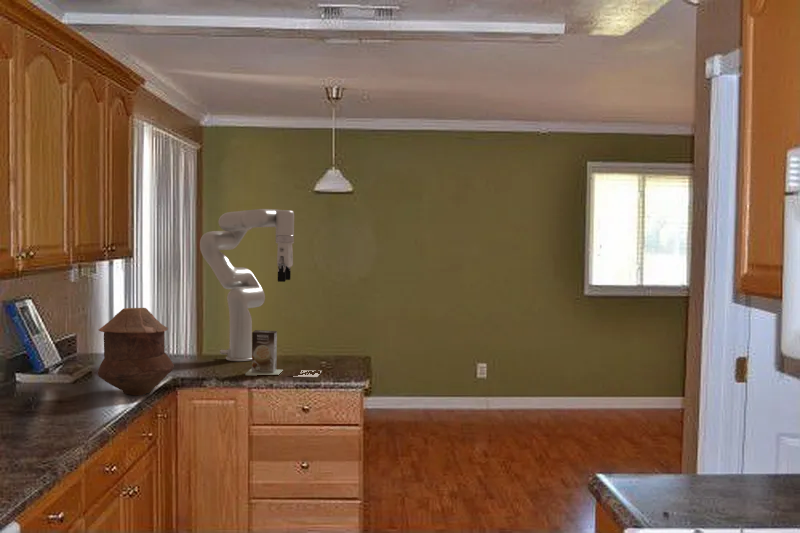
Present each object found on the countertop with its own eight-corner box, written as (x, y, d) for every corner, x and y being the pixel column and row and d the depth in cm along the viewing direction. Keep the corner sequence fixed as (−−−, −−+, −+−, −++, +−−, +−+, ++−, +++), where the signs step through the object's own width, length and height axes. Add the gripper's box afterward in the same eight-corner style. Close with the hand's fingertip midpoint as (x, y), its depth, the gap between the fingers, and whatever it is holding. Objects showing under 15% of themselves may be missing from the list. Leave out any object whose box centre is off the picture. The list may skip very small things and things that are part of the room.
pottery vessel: (134, 403, 290) (133, 313, 288) (80, 395, 302) (80, 308, 301) (188, 390, 312) (188, 306, 311) (136, 383, 325) (136, 302, 323)
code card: (286, 376, 342) (286, 376, 342) (292, 370, 356) (292, 370, 356) (317, 377, 342) (317, 376, 342) (322, 371, 356) (322, 370, 356)
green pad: (245, 375, 344) (245, 373, 344) (250, 370, 354) (250, 368, 354) (278, 375, 343) (278, 373, 343) (282, 371, 353) (282, 369, 353)
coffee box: (250, 372, 346) (251, 332, 345) (254, 369, 352) (254, 330, 351) (273, 373, 345) (274, 332, 344) (277, 370, 352) (277, 330, 351)
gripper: (289, 240, 356) (288, 282, 357) (297, 239, 373) (297, 279, 374) (271, 240, 356) (270, 282, 357) (280, 238, 373) (279, 278, 374)
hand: (284, 280), depth 366 cm, fingers open, 9 cm apart
